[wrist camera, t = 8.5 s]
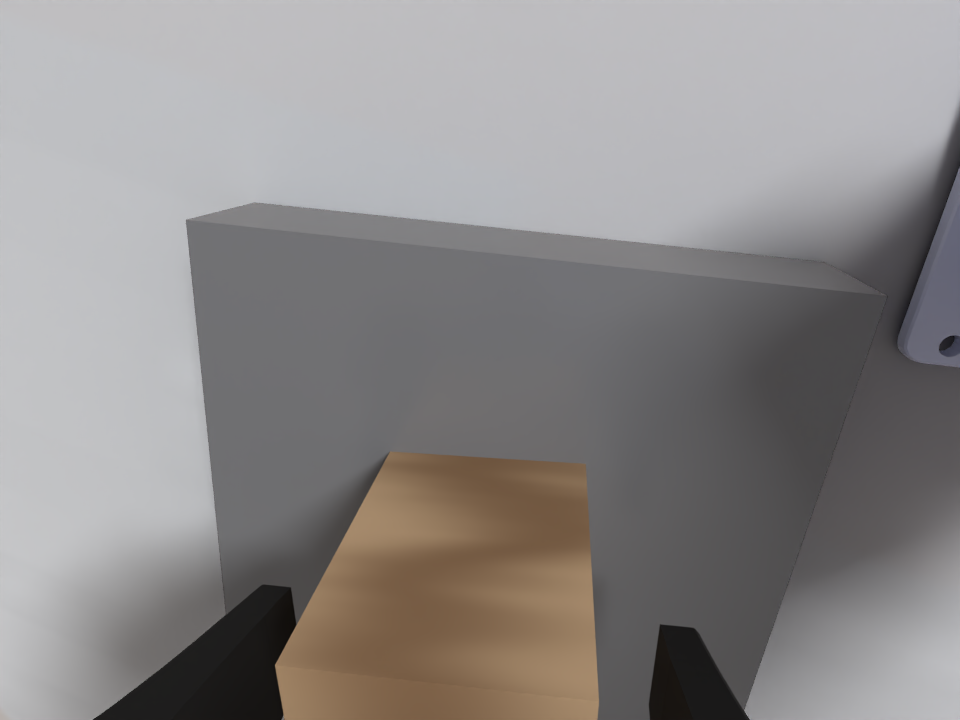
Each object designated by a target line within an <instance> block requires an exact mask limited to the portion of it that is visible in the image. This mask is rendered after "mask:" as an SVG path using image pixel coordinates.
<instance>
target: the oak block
mask: <svg viewBox="0 0 960 720" xmlns="http://www.w3.org/2000/svg"><path fill="white" fill-rule="evenodd" d="M275 668H276V674H277V680H278V685H279V691H280V697H281V702H282V708H283V714H284V719H285V720H597V718H598V707H599V692H598V674H597V656H596V639H595V621H594V603H593V585H592V567H591V549H590V531H589V513H588V495H587V477H586V464H581V463H565V462H549V461H533V460H517V459H501V458H485V457H469V456H453V455H438V454H422V453H406V452H390V453H389V455H388V456H387V458H386V460H385V462H384V464H383V466H382V468H381V469H380V471H379V473H378V475H377V477H376V479H375V481H374V482H373V484H372V486H371V488H370V490H369V492H368V494H367V495H366V497H365V499H364V501H363V503H362V505H361V507H360V508H359V510H358V512H357V514H356V516H355V518H354V520H353V521H352V523H351V525H350V527H349V529H348V531H347V533H346V534H345V536H344V538H343V540H342V542H341V544H340V546H339V547H338V549H337V551H336V553H335V555H334V557H333V559H332V560H331V562H330V564H329V566H328V568H327V570H326V572H325V573H324V575H323V577H322V579H321V581H320V583H319V584H318V586H317V588H316V590H315V592H314V594H313V596H312V597H311V599H310V601H309V603H308V605H307V607H306V609H305V610H304V612H303V614H302V616H301V618H300V620H299V622H298V623H297V625H296V627H295V629H294V631H293V633H292V635H291V636H290V638H289V640H288V642H287V644H286V646H285V648H284V649H283V651H282V653H281V655H280V657H279V659H278V661H277V662H276V664H275Z"/></svg>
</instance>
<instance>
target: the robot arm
mask: <svg viewBox="0 0 960 720" xmlns="http://www.w3.org/2000/svg"><path fill="white" fill-rule="evenodd" d="M949 336H955V337H954V343H953V344H952V345H951V347H949V348H948V349H946V350H944V351H939V345H940V343H941V342H942V341H943V339H945V338H947V337H949ZM897 345H898V348H899V350H900V352H902V353H903V354H904V355H905V356H906V357H908V358H909V359H911V360H912V361H915V362H919V363H925V364H934V365H942V366H951V367H959V368H960V167H959V170H958V173H957V176H956V178H955V181H954V184H953V187H952V189H951V192H950V195H949V198H948V200H947V203H946V206H945V209H944V211H943V214H942V217H941V220H940V222H939V225H938V228H937V231H936V233H935V236H934V239H933V242H932V244H931V247H930V250H929V253H928V255H927V258H926V261H925V264H924V266H923V269H922V272H921V275H920V277H919V280H918V283H917V286H916V288H915V291H914V294H913V297H912V300H911V302H910V305H909V308H908V311H907V313H906V316H905V319H904V322H903V324H902V327H901V330H900V333H899V335H898V341H897ZM295 627H296V618H295V611H294V605H293V598H292V591H291V587H284V586H274V585H264V584H262V585H261V586H260V587H259V588H257V589H256V590H255V591H254V592H252V593H251V594H250V595H249V596H248V597H247V598H245V599H244V600H243V601H242V602H241V603H239V604H238V605H237V606H236V607H235V608H233V609H232V610H231V611H230V612H229V613H228V614H226V615H225V616H224V617H223V618H222V619H221V620H219V621H218V622H217V623H216V624H215V625H213V626H212V627H211V628H210V629H209V630H208V631H206V632H205V633H204V634H203V635H202V636H200V637H199V638H198V639H197V640H196V641H194V642H193V643H192V644H191V645H190V646H188V647H187V648H186V649H185V650H183V651H182V652H181V653H180V654H179V655H177V656H176V657H175V658H174V659H173V660H171V661H170V662H169V663H168V664H166V665H165V666H164V667H163V668H161V669H160V670H159V671H157V672H156V673H155V674H154V675H152V676H151V677H150V678H148V679H147V680H146V681H144V682H143V683H142V684H140V685H139V686H138V687H137V688H135V689H134V690H133V691H131V692H130V693H129V694H127V695H126V696H125V697H124V698H122V699H121V700H120V701H118V702H117V703H116V704H114V705H113V706H112V707H110V708H109V709H107V710H106V711H105V712H103V713H102V714H100V715H99V716H98V717H96V718H95V719H93V720H281V719H282V717H283V715H284V714H283V708H282V702H281V697H280V691H279V685H278V680H277V674H276V668H275V664H276V662H277V661H278V659H279V657H280V655H281V653H282V651H283V649H284V648H285V646H286V644H287V642H288V640H289V638H290V636H291V635H292V633H293V631H294V629H295ZM649 715H650V720H750V719H749V718H748V716H747V715H746V713H745V712H744V710H743V709H742V707H741V705H740V704H739V702H738V701H737V699H736V697H735V696H734V694H733V692H732V691H731V689H730V687H729V686H728V684H727V682H726V681H725V679H724V677H723V676H722V674H721V672H720V670H719V669H718V667H717V665H716V663H715V662H714V660H713V658H712V656H711V654H710V653H709V651H708V649H707V647H706V645H705V643H704V642H703V640H702V638H701V636H700V634H699V633H698V632H697V630H696V629H695V628H692V627H682V626H672V625H662V624H660V627H659V634H658V641H657V648H656V655H655V662H654V670H653V677H652V684H651V691H650V698H649Z"/></svg>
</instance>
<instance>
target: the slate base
mask: <svg viewBox="0 0 960 720" xmlns="http://www.w3.org/2000/svg"><path fill="white" fill-rule="evenodd" d="M186 225H187V235H188V245H189V255H190V265H191V274H192V284H193V294H194V304H195V314H196V324H197V334H198V343H199V353H200V363H201V373H202V383H203V393H204V402H205V412H206V422H207V432H208V442H209V452H210V462H211V471H212V481H213V491H214V501H215V511H216V521H217V531H218V540H219V550H220V560H221V570H222V580H223V590H224V599H225V609H226V614H228V613H229V612H230V611H231V610H232V609H233V608H235V607H236V606H237V605H238V604H239V603H241V602H242V601H243V600H244V599H245V598H247V597H248V596H249V595H250V594H251V593H252V592H254V591H255V590H256V589H257V588H259V587H260V586H261V585H262V584H264V585H274V586H284V587H291V591H292V598H293V605H294V611H295V618H296V625H297V623H298V622H299V620H300V618H301V616H302V614H303V612H304V610H305V609H306V607H307V605H308V603H309V601H310V599H311V597H312V596H313V594H314V592H315V590H316V588H317V586H318V584H319V583H320V581H321V579H322V577H323V575H324V573H325V572H326V570H327V568H328V566H329V564H330V562H331V560H332V559H333V557H334V555H335V553H336V551H337V549H338V547H339V546H340V544H341V542H342V540H343V538H344V536H345V534H346V533H347V531H348V529H349V527H350V525H351V523H352V521H353V520H354V518H355V516H356V514H357V512H358V510H359V508H360V507H361V505H362V503H363V501H364V499H365V497H366V495H367V494H368V492H369V490H370V488H371V486H372V484H373V482H374V481H375V479H376V477H377V475H378V473H379V471H380V469H381V468H382V466H383V464H384V462H385V460H386V458H387V456H388V455H389V453H390V452H406V453H422V454H438V455H453V456H469V457H485V458H501V459H517V460H533V461H549V462H565V463H581V464H586V477H587V495H588V513H589V531H590V549H591V567H592V585H593V603H594V621H595V639H596V656H597V674H598V692H599V707H598V718H597V720H650V715H649V698H650V691H651V684H652V677H653V670H654V662H655V655H656V648H657V641H658V634H659V627H660V624H662V625H672V626H682V627H692V628H695V629H696V630H697V632H698V633H699V634H700V636H701V638H702V640H703V642H704V643H705V645H706V647H707V649H708V651H709V653H710V654H711V656H712V658H713V660H714V662H715V663H716V665H717V667H718V669H719V670H720V672H721V674H722V676H723V677H724V679H725V681H726V682H727V684H728V686H729V687H730V689H731V691H732V692H733V694H734V696H735V697H736V699H737V701H738V702H739V704H740V705H741V707H742V709H743V710H744V709H745V706H746V703H747V700H748V697H749V695H750V692H751V689H752V686H753V683H754V680H755V677H756V674H757V671H758V669H759V666H760V663H761V660H762V657H763V654H764V651H765V648H766V646H767V643H768V640H769V637H770V634H771V631H772V628H773V625H774V622H775V620H776V617H777V614H778V611H779V608H780V605H781V602H782V599H783V597H784V594H785V591H786V588H787V585H788V582H789V579H790V576H791V573H792V571H793V568H794V565H795V562H796V559H797V556H798V553H799V550H800V547H801V545H802V542H803V539H804V536H805V533H806V530H807V527H808V524H809V522H810V519H811V516H812V513H813V510H814V507H815V504H816V501H817V498H818V496H819V493H820V490H821V487H822V484H823V481H824V478H825V475H826V473H827V470H828V467H829V464H830V461H831V458H832V455H833V452H834V449H835V447H836V444H837V441H838V438H839V435H840V432H841V429H842V426H843V424H844V421H845V418H846V415H847V412H848V409H849V406H850V403H851V400H852V398H853V395H854V392H855V389H856V386H857V383H858V380H859V377H860V375H861V372H862V369H863V366H864V363H865V360H866V357H867V354H868V351H869V349H870V346H871V343H872V340H873V337H874V334H875V331H876V328H877V325H878V323H879V320H880V317H881V314H882V311H883V308H884V305H885V302H886V300H887V297H888V296H887V295H885V294H883V293H881V292H879V291H877V290H876V289H874V288H872V287H870V286H868V285H866V284H864V283H862V282H861V281H859V280H857V279H855V278H853V277H851V276H849V275H848V274H846V273H844V272H842V271H840V270H838V269H836V268H835V267H833V266H831V265H829V264H827V263H825V262H818V261H809V260H799V259H790V258H780V257H771V256H761V255H751V254H742V253H732V252H723V251H713V250H703V249H694V248H684V247H675V246H665V245H656V244H646V243H636V242H627V241H617V240H608V239H598V238H589V237H579V236H569V235H560V234H550V233H541V232H531V231H522V230H512V229H502V228H493V227H483V226H474V225H464V224H454V223H445V222H435V221H426V220H416V219H407V218H397V217H387V216H378V215H368V214H359V213H349V212H340V211H330V210H320V209H311V208H301V207H292V206H282V205H273V204H263V203H251V204H247V205H243V206H239V207H235V208H231V209H227V210H223V211H219V212H215V213H211V214H207V215H204V216H200V217H196V218H192V219H188V220H186Z"/></svg>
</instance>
